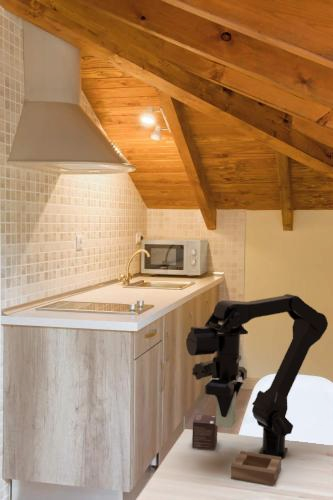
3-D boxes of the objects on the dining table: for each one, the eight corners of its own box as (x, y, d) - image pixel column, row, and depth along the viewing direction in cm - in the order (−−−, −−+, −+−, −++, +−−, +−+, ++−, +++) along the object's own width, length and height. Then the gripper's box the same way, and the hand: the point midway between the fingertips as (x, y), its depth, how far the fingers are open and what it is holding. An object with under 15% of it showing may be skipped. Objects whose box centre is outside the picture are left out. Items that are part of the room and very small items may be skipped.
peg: (219, 420, 158) (220, 389, 157) (235, 422, 156) (236, 391, 156) (215, 425, 154) (216, 393, 153) (231, 427, 153) (232, 395, 152)
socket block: (240, 462, 155) (241, 450, 155) (280, 469, 152) (281, 457, 151) (231, 478, 146) (231, 466, 145) (273, 486, 142) (274, 473, 142)
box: (195, 440, 169) (195, 413, 169) (217, 442, 168) (218, 415, 168) (191, 448, 164) (192, 421, 163) (214, 450, 162) (215, 423, 162)
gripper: (206, 341, 165) (205, 399, 166) (185, 357, 148) (183, 421, 149) (248, 345, 162) (246, 404, 163) (230, 362, 144) (228, 428, 145)
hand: (226, 414), depth 155 cm, fingers closed on peg, 4 cm apart
